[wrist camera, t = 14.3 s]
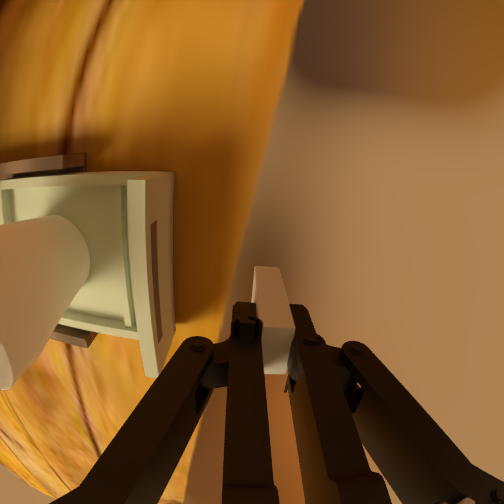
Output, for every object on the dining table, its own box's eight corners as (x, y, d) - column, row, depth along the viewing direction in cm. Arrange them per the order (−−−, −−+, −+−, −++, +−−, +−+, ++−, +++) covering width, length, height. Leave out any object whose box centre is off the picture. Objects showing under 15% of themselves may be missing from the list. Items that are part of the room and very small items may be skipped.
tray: (28, 303, 22) (-4, 333, 16) (9, 177, 18) (-35, 189, 12) (176, 330, 23) (160, 378, 17) (175, 171, 18) (146, 179, 13)
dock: (-9, 299, 23) (-24, 312, 19) (-29, 169, 17) (-49, 174, 14) (101, 328, 23) (87, 348, 20) (85, 153, 18) (62, 154, 15)
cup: (108, 309, 21) (37, 413, 10) (32, 290, 21) (-44, 362, 9) (102, 203, 18) (-19, 264, 7) (21, 197, 18) (-83, 241, 6)
